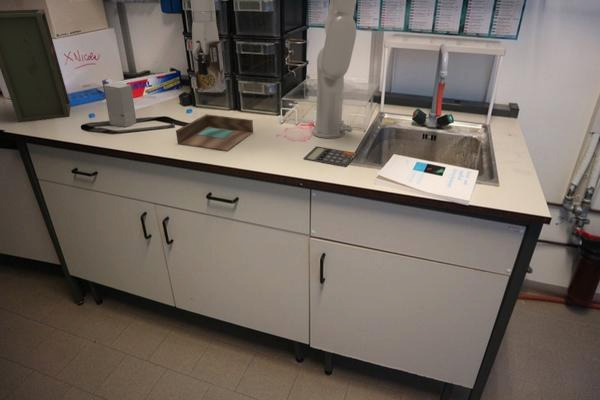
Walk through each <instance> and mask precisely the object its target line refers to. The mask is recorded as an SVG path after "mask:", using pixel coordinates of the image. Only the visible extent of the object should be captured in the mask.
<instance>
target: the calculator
mask: <svg viewBox="0 0 600 400" xmlns="http://www.w3.org/2000/svg"><path fill="white" fill-rule="evenodd" d="M354 153H355V152H352V151H347V150H341V149H336V148H328V147H325V146H324V147H323V146H318V145H317V146H314V148H313V149H311V151H310V152H308V153H307V154H306V155H305V156H304V157H303V160H304V161H309V162H315V163H321V164H326V165H331V166H332V165H333V166H336V167H337V166H338V167H343V168H347V167H348V166H349V165H350V164H351V162H352V161H351V158H352V156H353V155H354ZM349 163H350V164H349Z"/></svg>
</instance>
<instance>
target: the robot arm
mask: <svg viewBox="0 0 600 400" xmlns="http://www.w3.org/2000/svg"><path fill="white" fill-rule="evenodd" d="M222 1H224V2H225V1H228V0H222ZM356 4H357V0H329V6H328V10H327V16H326V20H325V23H324V34H325V40H324V45H323V47H322V48H321V49H320V50H319V52H318V54H317V58H316V75H317V77H316V78H317V79H316V82H317V83H316V86H317V87H316V116H315V117H316V119H315V120H316V122H315V123H316V124H315V126H314V127H312V129H311V133H312V134H313V135H314V136H315V137H318V138H323V139H336V138H341V137H343V136H345V134H346V132H347V133H352V131H353V126H352V125H351V124H345V122H344V121H345V120H342V119H343V117H342V116H343V103H344V83H345V75H346V73H347V72H348V70H349V68H350V64H351V60H352V57H353V56H352V55H353V52H354V47H355V43H356V37H357V24H356V22H355V20H354V14H355V10H356ZM215 5H216V4H215V0H190V7H191V8H190V9H191V17H192V23H191V24H192V25H191V37H192V38H191V39H192V43H191V44H193V51H191V53H192V56H193V55H194V57H195V59H196V62H197V63H198V71H199V74H200V75H207V74H208V72H207V63H205V60H206V55H208V54H209V44H212V43H214V42H217V41H220V38H219V36H220V35H219V31H218V30H219V29H218V27H217V26H218V25H217V16H216V6H215ZM200 47H201V49H202V50H203V53H199V49H200ZM200 55H201V56H203V58H202V57H201V56H200Z"/></svg>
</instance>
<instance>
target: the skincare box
mask: <svg viewBox="0 0 600 400" xmlns="http://www.w3.org/2000/svg"><path fill="white" fill-rule="evenodd" d="M103 89H104V95H105V101H106V108H107V114H108V121H109V124H110V126H116V127H123V128H128V127H130V126H133V125H136V124H137V117H136V111H135V102H134V96H133V87H132V84H129V83H128V84H127V83H125V82H118V81H114V82H110V83H105V84H103Z"/></svg>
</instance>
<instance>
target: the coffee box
mask: <svg viewBox="0 0 600 400" xmlns="http://www.w3.org/2000/svg"><path fill="white" fill-rule="evenodd" d="M190 45H191V50H192V51H193V43H191V44H190ZM192 51H191V52H192ZM199 53H203V50H202V49H201V47H200V49H199ZM200 56H201V55H200ZM201 57H202V58H203V56H201ZM192 59H193V65H194V66H193V67H194V72H195V80H196V81H195V82H196V89H197V92H198V93H223V92H224V91H225V90H226V88H227V87H226V79H225V78H226V77H225V68H224V59H223V49H222V41H220V40H219V41H217V42H214V43H212V44H209V54H208V55H206V60H205V63H207V72H208V74H207V75H200V74H199V71H198V63H197V62H196V59H195V57H194V55H193V54H192Z"/></svg>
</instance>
